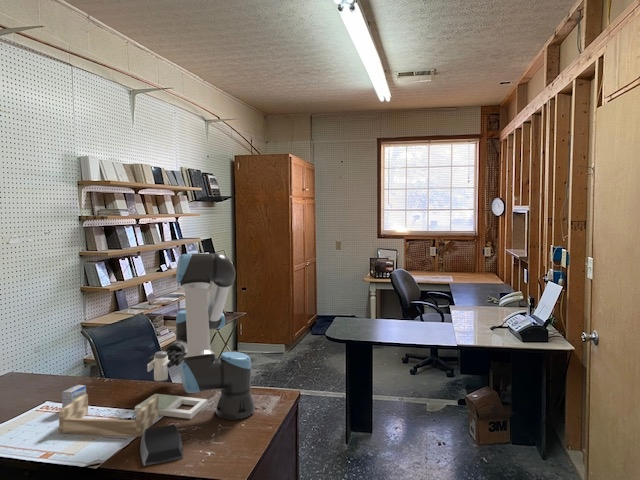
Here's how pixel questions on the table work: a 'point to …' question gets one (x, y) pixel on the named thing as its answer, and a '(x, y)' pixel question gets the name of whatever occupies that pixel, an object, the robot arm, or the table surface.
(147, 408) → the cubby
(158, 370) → the cream bottle
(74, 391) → the medicine box
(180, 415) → the hole board
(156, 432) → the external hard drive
